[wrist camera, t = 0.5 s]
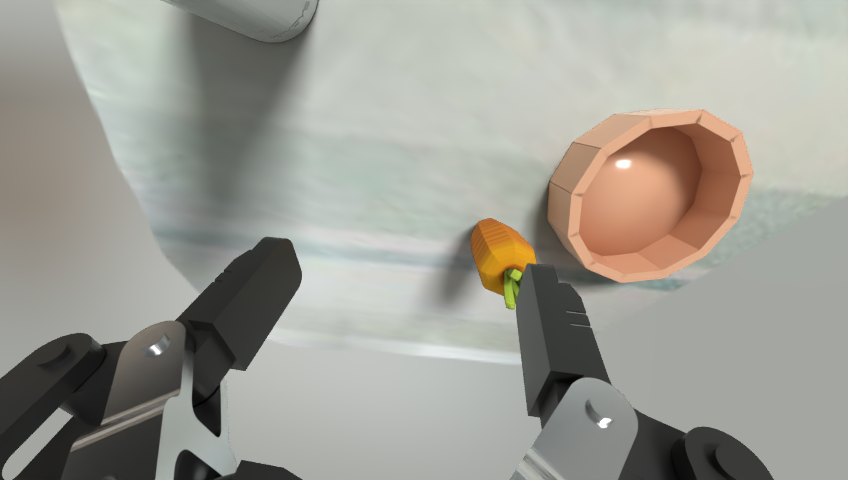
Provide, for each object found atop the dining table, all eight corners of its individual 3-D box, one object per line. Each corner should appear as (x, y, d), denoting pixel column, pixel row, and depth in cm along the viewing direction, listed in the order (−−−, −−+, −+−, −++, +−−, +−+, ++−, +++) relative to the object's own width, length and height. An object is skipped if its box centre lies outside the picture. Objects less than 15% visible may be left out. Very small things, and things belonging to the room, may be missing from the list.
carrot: (462, 201, 32) (495, 270, 19) (508, 203, 33) (574, 272, 19) (458, 243, 34) (485, 333, 21) (501, 244, 35) (556, 335, 21)
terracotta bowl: (521, 177, 32) (539, 188, 27) (673, 73, 28) (723, 67, 23) (585, 282, 37) (609, 307, 32) (719, 206, 33) (767, 222, 29)
